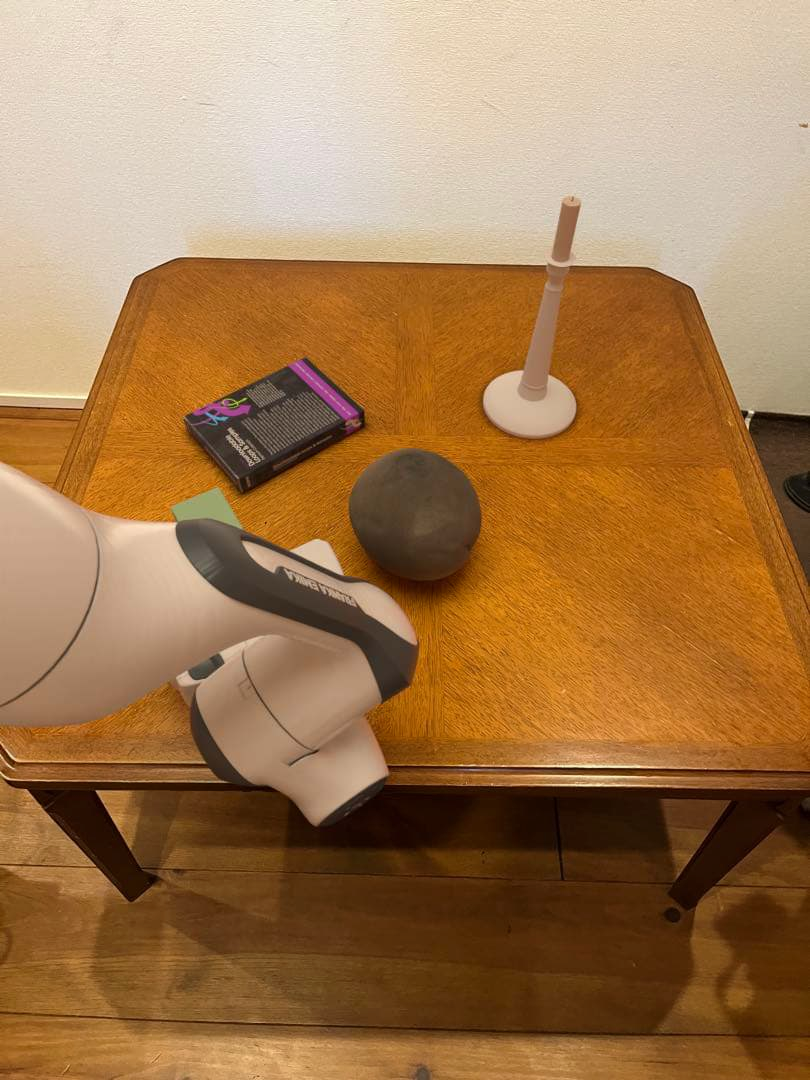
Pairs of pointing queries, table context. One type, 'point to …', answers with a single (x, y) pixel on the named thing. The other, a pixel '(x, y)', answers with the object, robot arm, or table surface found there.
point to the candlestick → (539, 355)
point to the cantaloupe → (415, 514)
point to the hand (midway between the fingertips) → (216, 551)
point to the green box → (206, 508)
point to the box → (274, 423)
